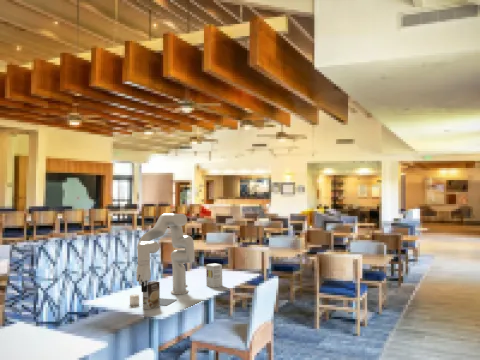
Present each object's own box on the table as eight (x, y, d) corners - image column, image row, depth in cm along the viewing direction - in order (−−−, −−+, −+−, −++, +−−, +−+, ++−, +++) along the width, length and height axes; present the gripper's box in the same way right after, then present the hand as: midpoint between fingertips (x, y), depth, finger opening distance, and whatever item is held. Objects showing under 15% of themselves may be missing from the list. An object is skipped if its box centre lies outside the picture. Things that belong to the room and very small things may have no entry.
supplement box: (206, 285, 322) (205, 264, 323) (215, 284, 329) (214, 262, 329) (213, 287, 315) (213, 265, 316) (222, 285, 321) (222, 264, 322)
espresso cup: (133, 303, 277) (133, 294, 277) (140, 303, 275) (140, 294, 275) (128, 305, 271) (127, 296, 272) (135, 306, 269) (135, 296, 270)
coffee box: (148, 309, 260) (148, 284, 260) (142, 308, 264) (142, 283, 264) (160, 306, 267) (159, 281, 267) (153, 305, 271) (153, 280, 271)
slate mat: (156, 298, 287) (156, 298, 287) (177, 300, 282) (177, 299, 282) (145, 304, 273) (145, 303, 273) (166, 305, 268) (166, 305, 268)
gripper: (145, 260, 267) (145, 288, 266) (131, 264, 253) (132, 294, 252) (155, 260, 264) (155, 289, 264) (142, 265, 250) (143, 295, 250)
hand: (144, 291), depth 258 cm, fingers closed
